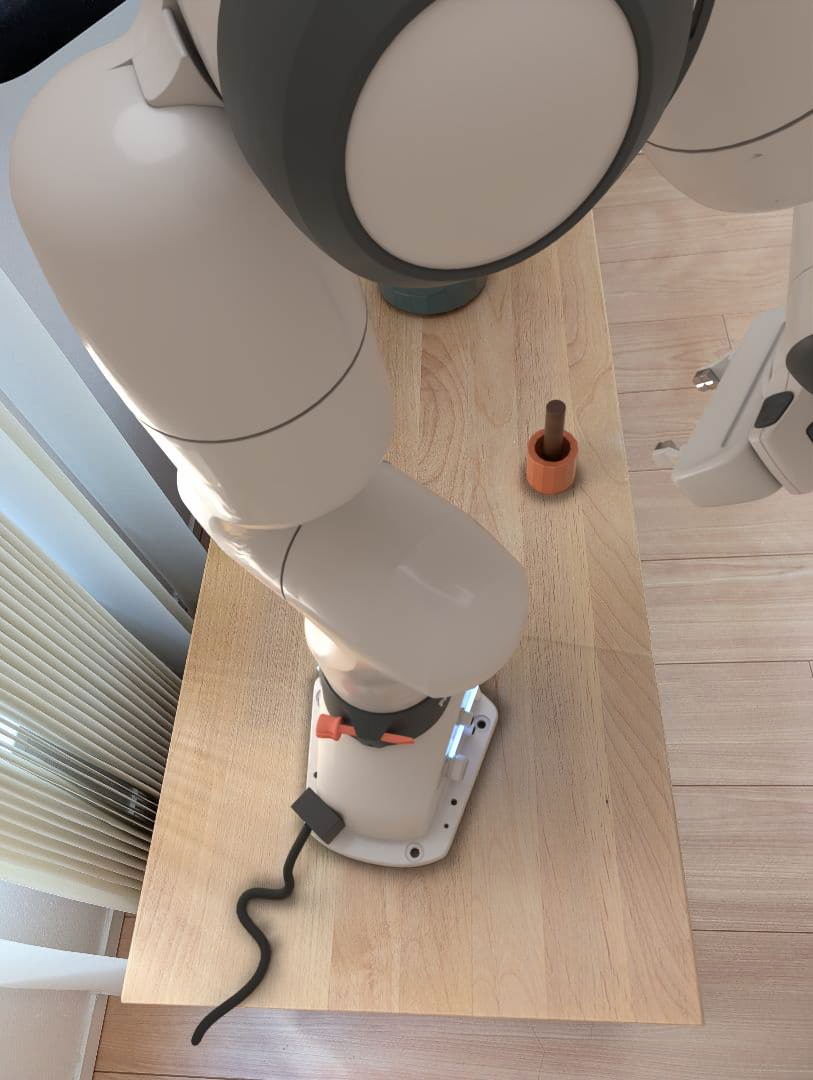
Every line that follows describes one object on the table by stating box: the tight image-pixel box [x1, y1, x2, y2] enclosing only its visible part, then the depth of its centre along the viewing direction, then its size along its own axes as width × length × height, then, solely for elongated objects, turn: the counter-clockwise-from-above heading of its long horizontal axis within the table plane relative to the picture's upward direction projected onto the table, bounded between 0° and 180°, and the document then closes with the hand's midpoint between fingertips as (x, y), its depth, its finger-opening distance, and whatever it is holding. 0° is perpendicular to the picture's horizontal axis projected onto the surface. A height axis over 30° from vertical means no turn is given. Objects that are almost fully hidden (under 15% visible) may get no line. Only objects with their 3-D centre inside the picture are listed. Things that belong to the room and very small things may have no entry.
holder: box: [525, 428, 579, 495], centre depth 87 cm, size 5×6×6 cm
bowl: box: [376, 275, 488, 315], centre depth 105 cm, size 15×15×7 cm
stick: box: [543, 399, 567, 462], centre depth 84 cm, size 2×2×12 cm
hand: (678, 417), depth 71 cm, fingers open, 8 cm apart
